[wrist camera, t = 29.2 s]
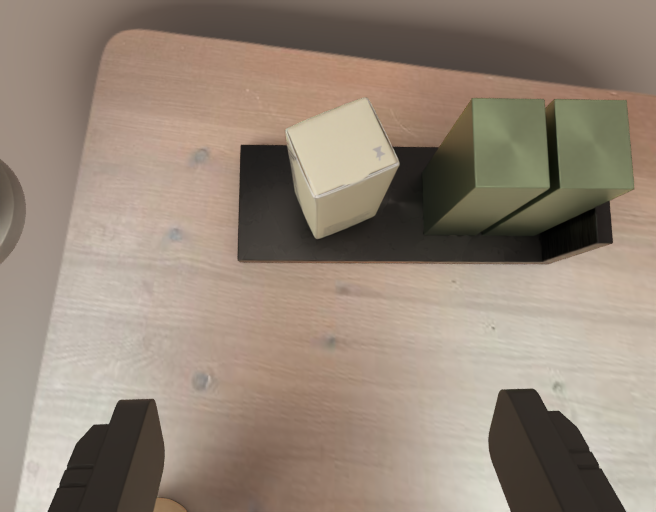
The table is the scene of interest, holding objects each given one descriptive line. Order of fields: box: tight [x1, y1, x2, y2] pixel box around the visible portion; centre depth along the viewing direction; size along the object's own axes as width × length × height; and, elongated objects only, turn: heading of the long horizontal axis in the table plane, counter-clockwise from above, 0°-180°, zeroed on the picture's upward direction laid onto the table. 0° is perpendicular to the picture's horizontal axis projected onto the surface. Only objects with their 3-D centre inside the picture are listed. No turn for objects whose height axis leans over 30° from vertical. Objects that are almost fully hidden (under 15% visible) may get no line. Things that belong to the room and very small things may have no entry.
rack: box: [238, 98, 634, 264], centre depth 36 cm, size 24×9×14 cm, turn 90°
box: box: [285, 97, 399, 239], centre depth 35 cm, size 5×4×13 cm
